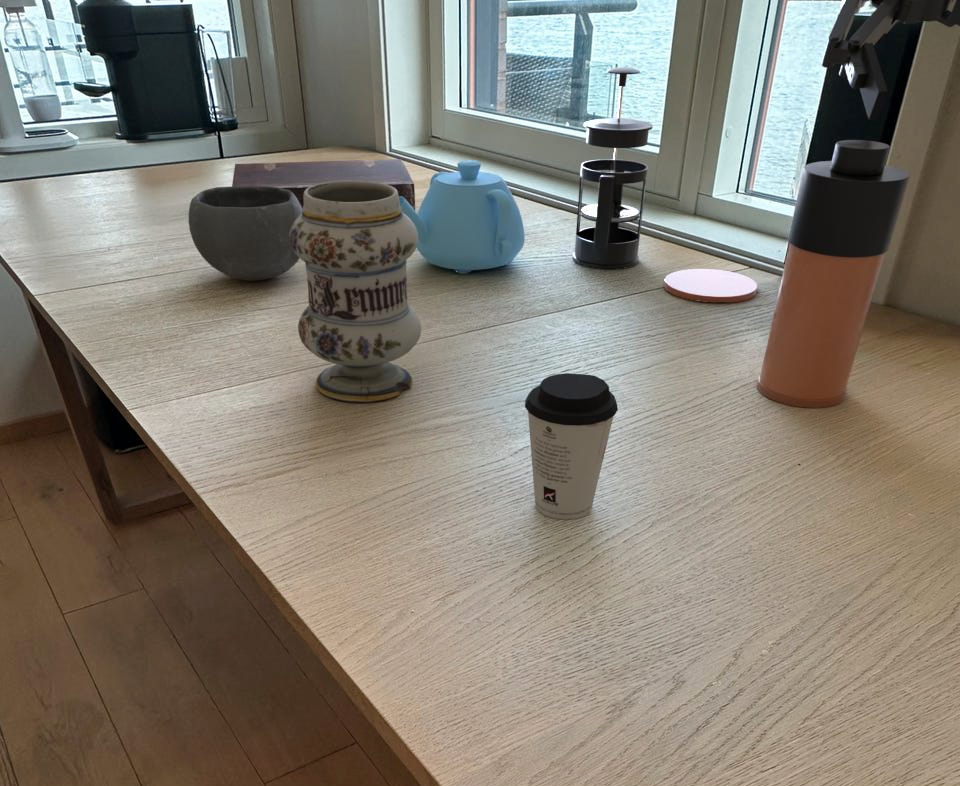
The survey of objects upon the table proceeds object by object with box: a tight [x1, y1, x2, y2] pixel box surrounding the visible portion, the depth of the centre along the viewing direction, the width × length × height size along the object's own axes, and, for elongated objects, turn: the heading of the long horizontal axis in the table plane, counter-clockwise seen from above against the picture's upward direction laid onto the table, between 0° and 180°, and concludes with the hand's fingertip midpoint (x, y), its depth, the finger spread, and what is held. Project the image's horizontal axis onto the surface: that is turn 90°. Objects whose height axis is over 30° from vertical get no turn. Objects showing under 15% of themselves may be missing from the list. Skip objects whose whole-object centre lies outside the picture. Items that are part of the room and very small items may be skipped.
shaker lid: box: [787, 139, 911, 257], centre depth 76 cm, size 9×9×8 cm
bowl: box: [188, 185, 302, 282], centre depth 112 cm, size 15×15×10 cm
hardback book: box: [231, 158, 416, 211], centre depth 145 cm, size 29×19×5 cm, turn 101°
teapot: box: [399, 160, 525, 274], centre depth 116 cm, size 20×20×13 cm
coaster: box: [663, 268, 759, 304], centre depth 113 cm, size 12×12×1 cm
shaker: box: [756, 242, 886, 409], centre depth 83 cm, size 9×9×14 cm
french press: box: [572, 66, 654, 270], centre depth 115 cm, size 12×9×23 cm
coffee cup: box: [524, 372, 619, 520], centre depth 66 cm, size 7×7×10 cm
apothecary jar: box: [289, 180, 422, 403], centre depth 82 cm, size 12×12×18 cm
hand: (954, 98), depth 78 cm, fingers open, 13 cm apart
